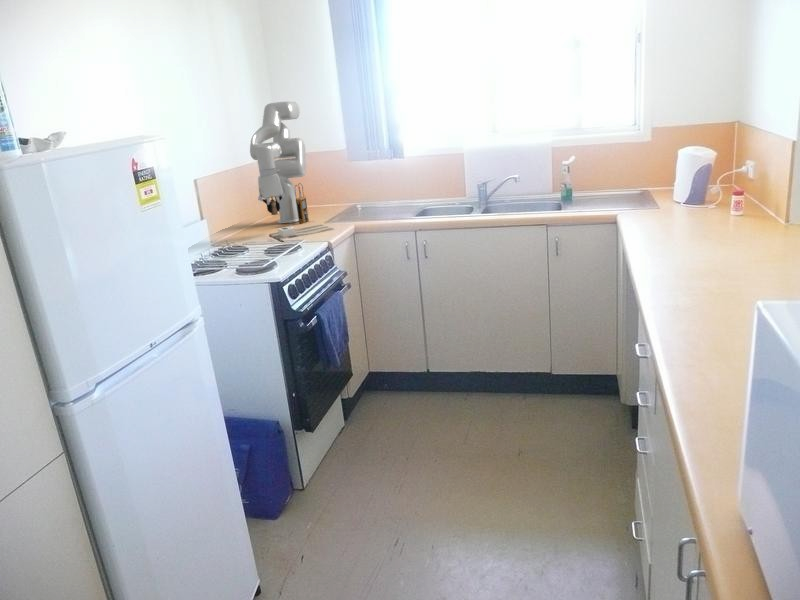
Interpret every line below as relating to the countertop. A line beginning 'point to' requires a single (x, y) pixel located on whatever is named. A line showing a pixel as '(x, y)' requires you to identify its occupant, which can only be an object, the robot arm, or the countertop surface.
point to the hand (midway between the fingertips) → (274, 211)
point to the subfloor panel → (302, 232)
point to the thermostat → (286, 231)
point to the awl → (273, 207)
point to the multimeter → (302, 208)
